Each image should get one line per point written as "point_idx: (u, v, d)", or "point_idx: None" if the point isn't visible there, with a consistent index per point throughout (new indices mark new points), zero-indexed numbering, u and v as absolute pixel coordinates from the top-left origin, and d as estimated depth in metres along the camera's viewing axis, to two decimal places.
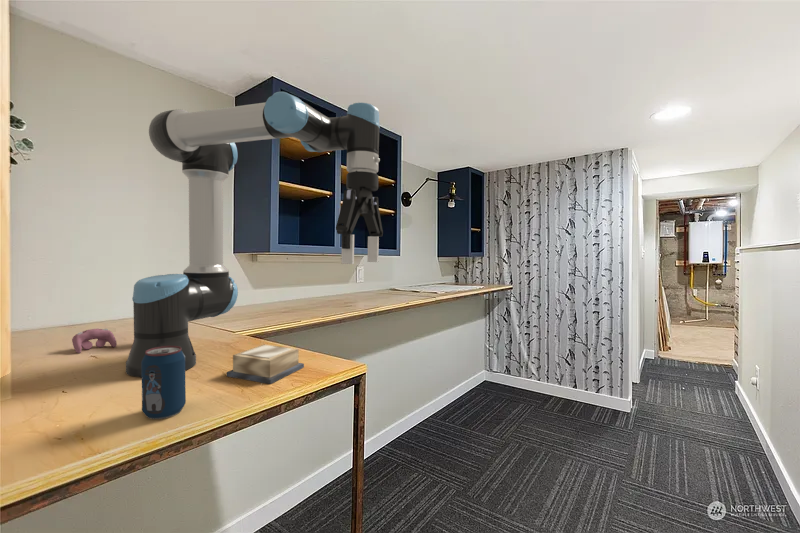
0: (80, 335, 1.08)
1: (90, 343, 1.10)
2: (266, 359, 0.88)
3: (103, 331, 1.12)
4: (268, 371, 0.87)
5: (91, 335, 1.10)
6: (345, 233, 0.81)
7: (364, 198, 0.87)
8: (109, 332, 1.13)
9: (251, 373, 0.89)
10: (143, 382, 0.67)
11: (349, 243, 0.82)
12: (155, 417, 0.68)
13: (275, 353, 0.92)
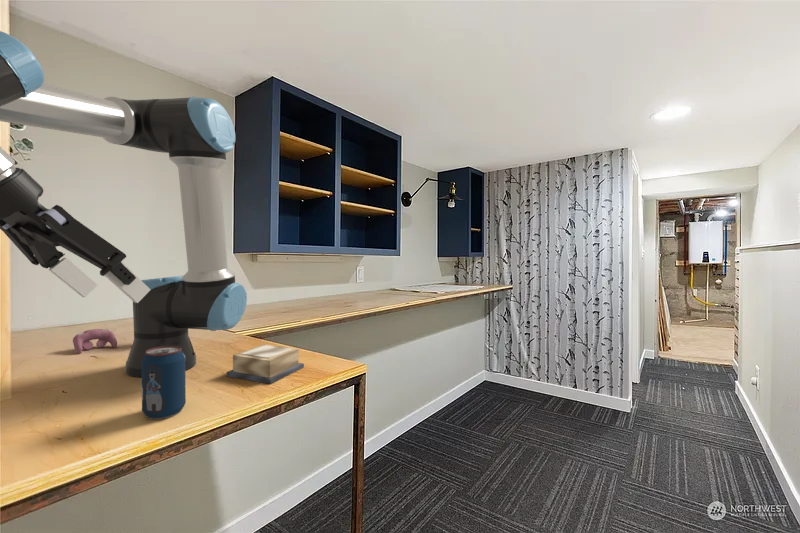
0: (81, 335, 1.08)
1: (91, 343, 1.10)
2: (266, 359, 0.88)
3: (104, 331, 1.12)
4: (268, 371, 0.87)
5: (92, 335, 1.10)
6: None
7: None
8: (110, 332, 1.13)
9: (251, 373, 0.89)
10: (143, 382, 0.67)
11: None
12: (155, 417, 0.68)
13: (275, 353, 0.92)
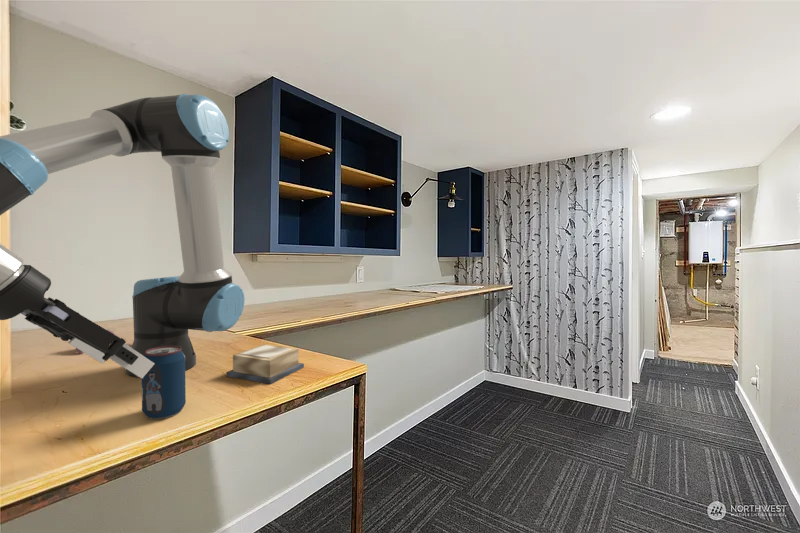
0: None
1: None
2: (266, 359, 0.88)
3: None
4: (268, 371, 0.87)
5: None
6: None
7: None
8: None
9: (251, 373, 0.89)
10: (143, 382, 0.67)
11: None
12: (155, 417, 0.68)
13: (275, 353, 0.92)
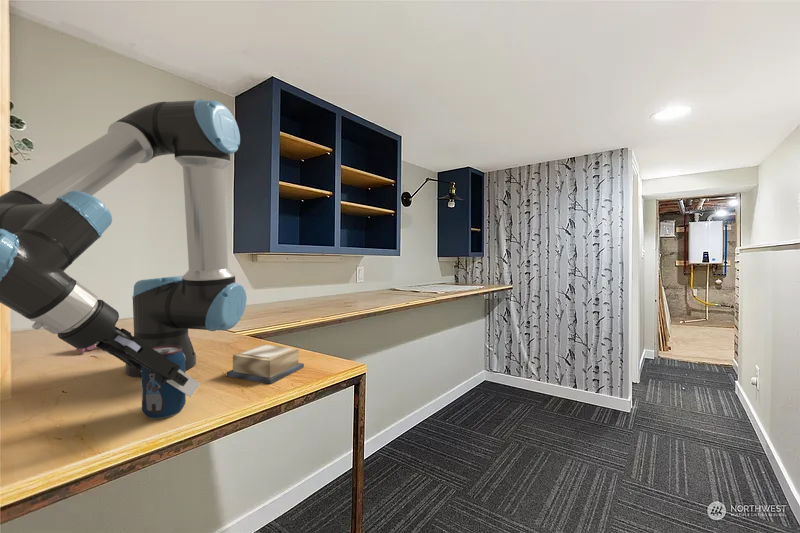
0: None
1: None
2: (266, 359, 0.88)
3: None
4: (268, 371, 0.87)
5: None
6: None
7: None
8: None
9: (251, 373, 0.89)
10: (143, 382, 0.67)
11: None
12: (155, 417, 0.68)
13: (275, 353, 0.92)
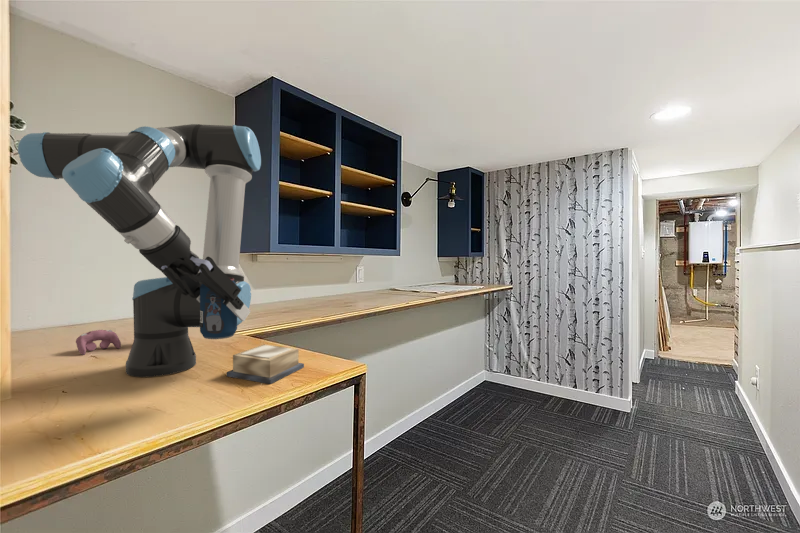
0: (84, 336, 1.07)
1: (94, 344, 1.09)
2: (266, 359, 0.88)
3: (107, 332, 1.11)
4: (268, 371, 0.87)
5: (95, 336, 1.09)
6: None
7: None
8: (113, 333, 1.12)
9: (251, 373, 0.89)
10: (203, 305, 0.74)
11: None
12: (214, 337, 0.75)
13: (275, 353, 0.92)
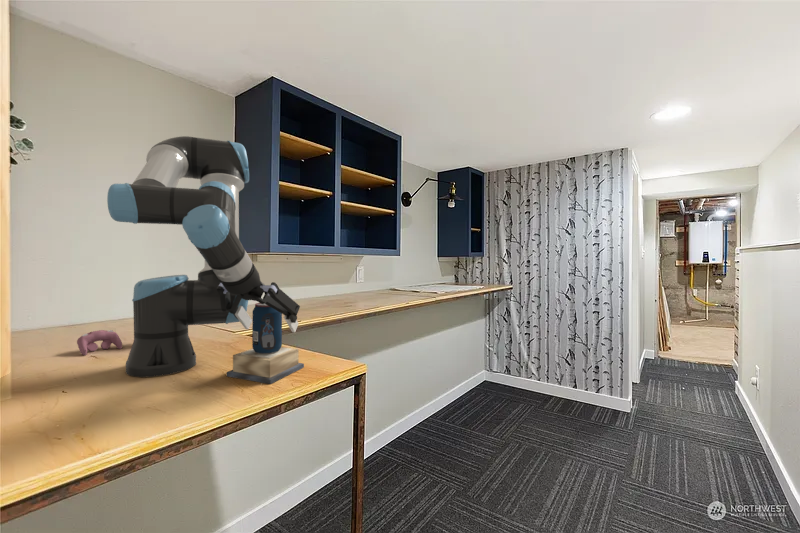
0: (85, 337, 1.06)
1: (95, 345, 1.08)
2: (266, 359, 0.88)
3: (108, 333, 1.11)
4: (268, 371, 0.87)
5: (96, 337, 1.08)
6: None
7: (237, 293, 0.84)
8: (114, 333, 1.12)
9: (251, 373, 0.89)
10: (259, 327, 0.90)
11: None
12: (268, 352, 0.91)
13: (275, 353, 0.92)
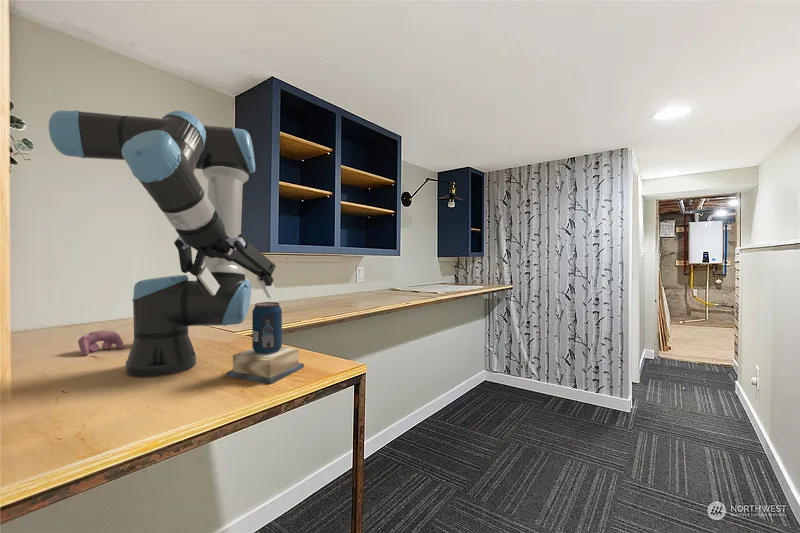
0: (87, 337, 1.06)
1: (96, 345, 1.08)
2: (266, 359, 0.88)
3: (109, 333, 1.10)
4: (268, 371, 0.87)
5: (98, 337, 1.08)
6: None
7: (198, 248, 0.72)
8: (115, 334, 1.12)
9: (251, 373, 0.89)
10: (259, 327, 0.90)
11: None
12: (268, 352, 0.91)
13: (275, 353, 0.92)
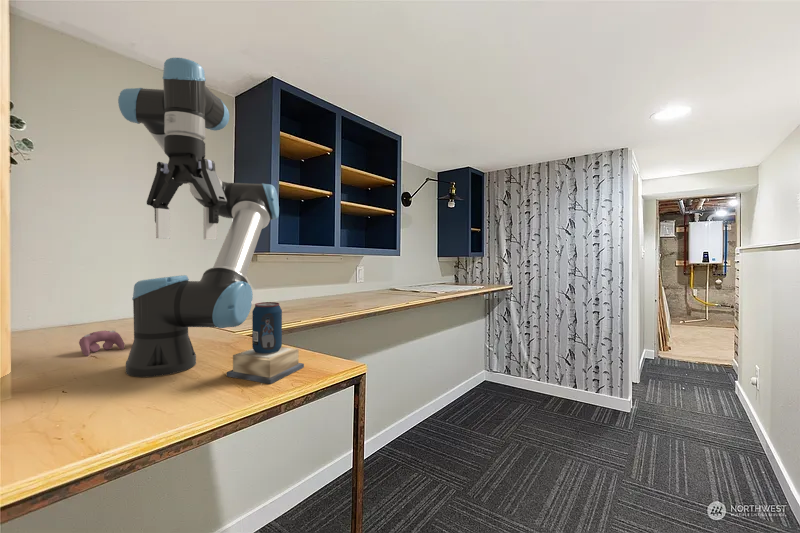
0: (88, 337, 1.06)
1: (97, 345, 1.08)
2: (266, 359, 0.88)
3: (110, 333, 1.10)
4: (268, 371, 0.87)
5: (99, 337, 1.08)
6: None
7: None
8: (116, 334, 1.11)
9: (251, 373, 0.89)
10: (259, 327, 0.90)
11: None
12: (268, 352, 0.91)
13: (275, 353, 0.92)
